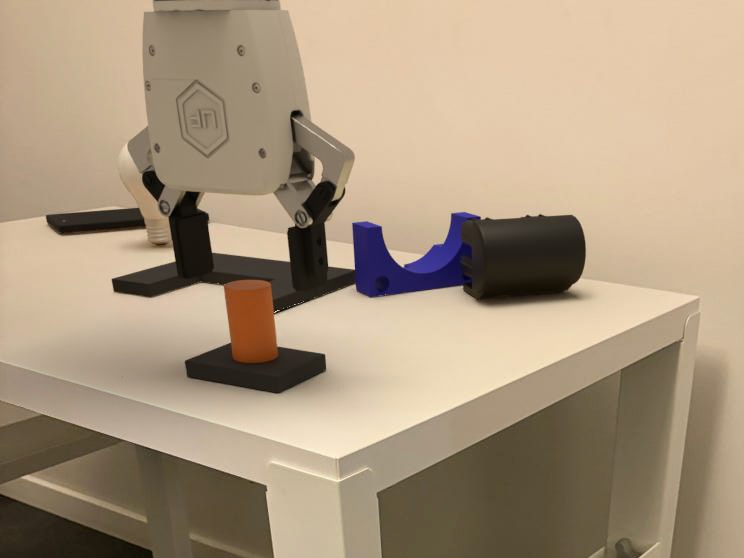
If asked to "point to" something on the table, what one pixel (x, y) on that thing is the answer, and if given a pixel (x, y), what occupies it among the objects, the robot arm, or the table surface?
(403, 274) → the blue pipe cradle
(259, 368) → the small pad
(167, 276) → the big pad
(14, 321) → the table surface
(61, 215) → the cell phone
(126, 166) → the lightbulb
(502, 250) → the end cap
